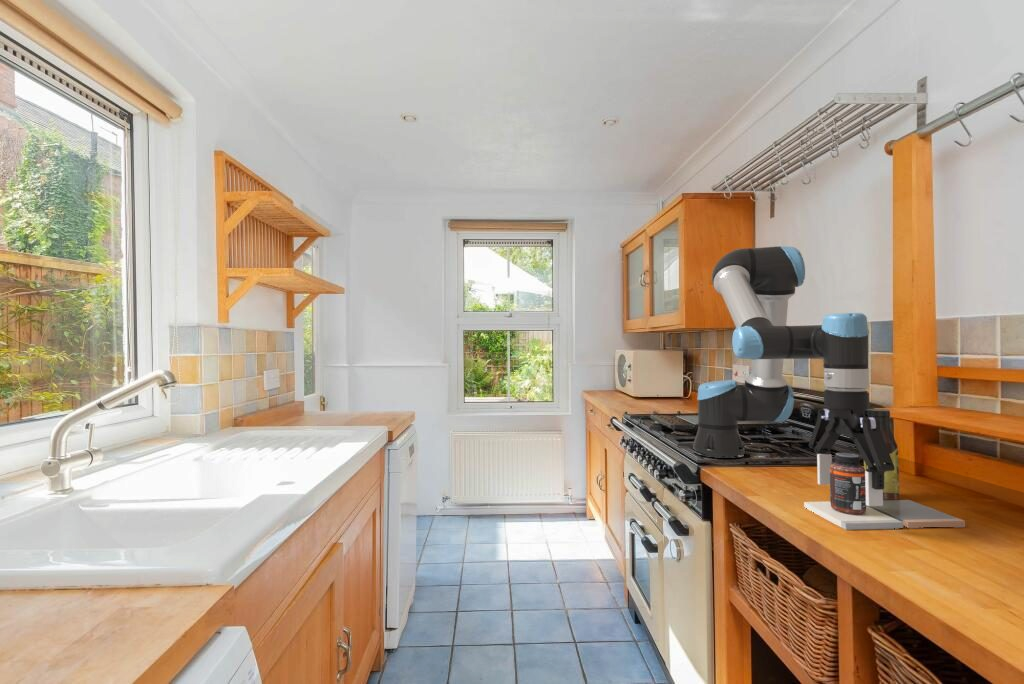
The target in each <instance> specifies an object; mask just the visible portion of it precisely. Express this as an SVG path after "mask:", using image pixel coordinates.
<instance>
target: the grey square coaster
mask: <svg viewBox="0 0 1024 684" xmlns="http://www.w3.org/2000/svg"><path fill="white" fill-rule="evenodd" d="M866 506H867V505H866ZM867 507H869V508H872V509H874V510H876V511H878V512H881V513H883V514H885V515H888V516H890V517H892V518H894V519H897V520H899V521H901V522H903V527H904V526H905V527H904V528H906V527H907V528H906V529H908V528H909V529H924V528H923V527H954V528H966V520H964V519H961V518H958V517H956V516H953V515H950V514H948V513H945V512H942V511H940V510H937V509H935V508H933V507H929V506H928V505H927V506H926V505H924V504H922V503H919V502H917V501H916V502H915V501H913V500H910V499H898V500H883V506H867ZM919 527H921V528H919Z"/></svg>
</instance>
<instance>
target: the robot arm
mask: <svg viewBox="0 0 1024 684" xmlns="http://www.w3.org/2000/svg"><path fill="white" fill-rule="evenodd" d="M805 279H806V265H805V261H804V257H803V254H802V253H801V251H800V250H799V249H798V248H796V247H795V246H765V247H752V248H751V247H750V248H749V247H748V248H738V249H737V248H736V249H733V250H732V251H730V252H728V253H727V254H724V256H722V257H721V258H720V259H719V260H718V261H717V263H716V264H715V266H714V268H713V270H712V273H711V283H712V285H713V287H714V290H715V291H716V292H717V293H718V294H720V295H721V297H722V299H723V301H724V303H725V305H726V308H727V310H728V311H729V314H730V317H731V320H732V321H733V323H734V326H735V329H734V330H733V333H732V336H731V337H732V339H731V341H732V342H731V343H732V344H731V345H732V348H733V349H732V351H733V353H734V356H735V357H737V358H738V359H742V360H751V364H750V366H751V368H750V373H749V374H748V375H747V376H745V378H744V383H743V384H739V383H738V381H737V380H735V379H727V380H724V379H722V380H714V381H707V382H702V383H701V384H700V385H699V386H698V388H697V398H696V400H697V411H698V412H697V417H698V418H697V420H698V422H697V424H698V426H697V427H698V428H697V432H696V435H695V437H694V441H693V444H692V450H693V449H694V450H695V451H698V452H700V453H703V454H706V455H709V456H717V457H721V456H728V457H730V456H731V457H732V456H738V455H744V454H745V447H744V444H743V441H742V438H741V435H740V433H739V422H745V423H747V422H752V423H754V422H755V423H770V424H773V423H783V422H785V421H786V420H788V419H789V417H790V416H791V415H792V413H793V409H794V404H795V398H794V390H793V388H792V386H790V385H789V384H788V380H787V379H786V378H785V377H783V371H784V359H786V360H788V359H789V360H792V359H793V360H805V359H806V360H808V359H809V360H810V359H811V360H813V359H814V360H816V359H818V360H823V364H822V365H823V386H824V387H825V388H826V389H825V390H824V391H823V405H824V407H825V408H819V409H818V410H817V418H816V422H815V425H814V427H813V429H812V430H813V431H812V434H811V437H810V439H809V443H808V447H809V449H813V450H814V453H815V454H816V455H815V457H816V467H817V470H816V471H817V473H816V474H817V475H816V476H817V485H818V486H819V485H821V486H827V485H828V486H830V466H831V464H833V455H832V454H831V453H832V451H831V449H832V448H833V446H834V445H835V444H836V442H837V441H838V439H839V437H840V436H841V435H843V436H845V437H847V438H848V439H849V440H851V441H852V442H853V443H854V445H855V447H856V448H857V450H858V452H859V454H860V455H861V458H862V459H863V462H864V461H865V463H866V465H867V467H868V469H866V470H865V488H866V505H867V506H883V489H884V473H885V472H886V471H894V469H895V467H894V464H893V462H892V459H891V457H890V454H889V451H888V449H887V446H886V444H885V441H884V438H883V436H882V433H881V430H880V423H879V419H878V418H869V417H866V415H865V412H866V411H867V410H868V409H870V392H869V391H867V389H868V388H870V368H869V333H870V331H869V326H868V317H867V315H865V314H864V313H862V312H861V313H860V312H847V313H846V312H844V313H843V312H842V313H829V314H825V315H824V317H823V318H822V324H820V325H818V324H817V325H815V324H814V325H787V322H788V321H787V320H788V309H789V308H788V307H789V306H788V305H789V299H791V298H792V297H793V296H794V295H795V294H796V288H798V287H800V286H802V285H803V284H804V280H805ZM874 463H875V465H874ZM884 463H885V464H884Z"/></svg>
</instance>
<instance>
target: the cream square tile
mask: <svg viewBox="0 0 1024 684" xmlns="http://www.w3.org/2000/svg"><path fill="white" fill-rule="evenodd" d="M804 507H805V508H804ZM803 508H804V509H806V508H807V509H806V510H808V511H810V512H811V511H812V513H813V512H814V515H815V514H816V515H818V516H819V517H821V518H822V519H825V520H826V521H829V522H830V523H832V524H835V525H836V526H837V527H840V528H841V529H843V530H845V531H852V530H853V531H854V530H855V531H857V530H900V529H899V528H903V529H904V526H903V522H901V521H899V520H897V519H894V518H892V517H890V516H888V515H885V514H883V513H881V512H878V511H876V510H874V509H872V508H869V507H867V506H866V512H865V513H863V514H848V513H843V512H839V511H837V510H835V509H833V508H832V507H831V502H830V501H829V500H828V501H803ZM894 528H895V529H894Z"/></svg>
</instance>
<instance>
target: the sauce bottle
mask: <svg viewBox="0 0 1024 684" xmlns="http://www.w3.org/2000/svg"><path fill="white" fill-rule="evenodd" d="M866 411H867V417H868V418H878V419H879V423H880V430H881V433H882V436H883V438H884V441H885V444H886V446H887V449H888V451H889V454H890V457H891V459H892V462H893V464H894V467H895V469H894V471H886V472H885V473H884V489H883V500H900V493H901V487H900V485H901V484H900V468H899V467H900V466H899V465H900V463H899V446H898V444H897V442H896V439H895V437H894V435H893V432H892V430H891V427H890V426H891V425H890V417H891V413H890V412H891V411H890V410H889V409H884V408H883V409H882V408H869V409H867V410H866ZM884 464H885V463H884ZM874 465H875V463H874ZM863 468H864V469H865V470H866V469H868V467H867V465H866V463H865V461H864V460H863Z"/></svg>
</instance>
